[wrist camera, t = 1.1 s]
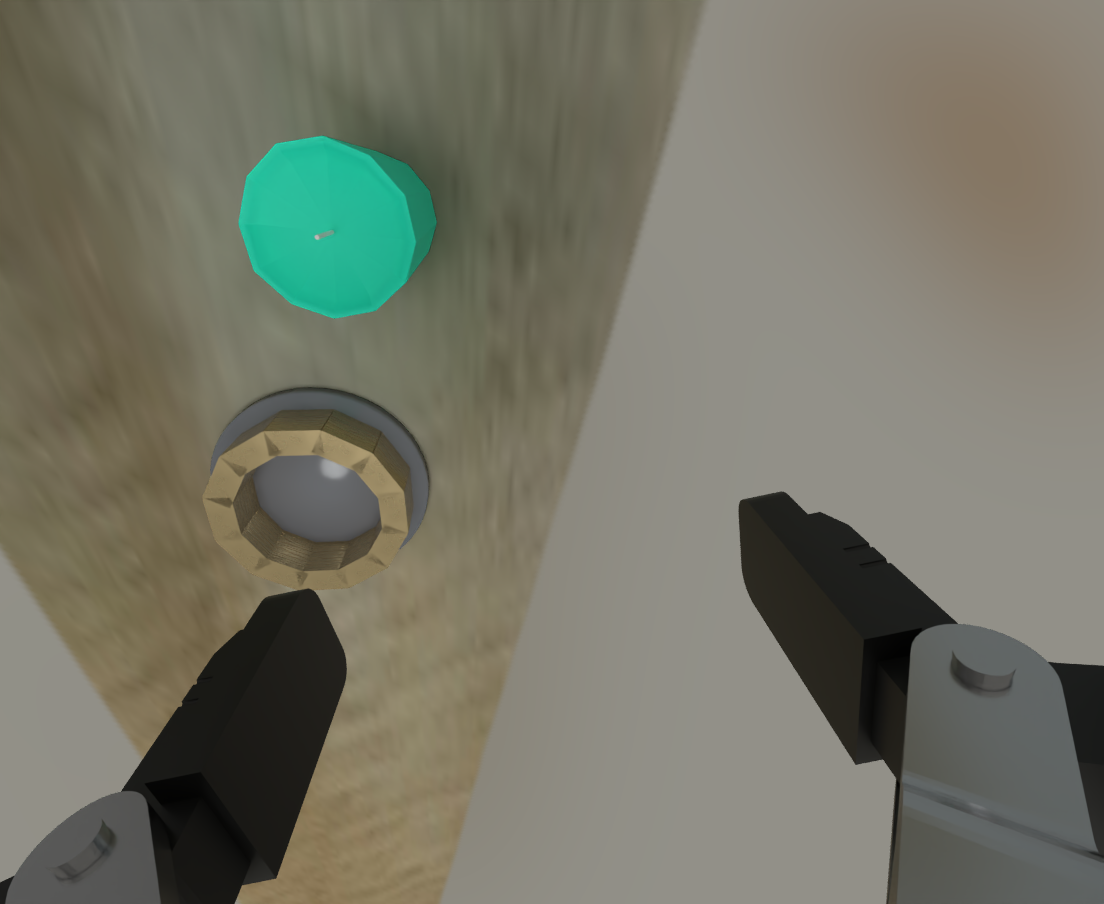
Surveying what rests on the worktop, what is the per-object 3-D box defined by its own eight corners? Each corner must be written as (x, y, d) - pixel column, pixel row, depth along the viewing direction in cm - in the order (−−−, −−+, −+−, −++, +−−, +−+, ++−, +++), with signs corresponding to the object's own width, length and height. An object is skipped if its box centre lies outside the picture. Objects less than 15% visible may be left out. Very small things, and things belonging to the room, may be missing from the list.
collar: (250, 563, 36) (231, 594, 33) (207, 410, 31) (182, 432, 28) (418, 555, 37) (413, 584, 34) (404, 408, 32) (397, 428, 29)
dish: (243, 566, 37) (237, 575, 36) (192, 388, 31) (184, 394, 30) (435, 557, 38) (434, 566, 37) (421, 386, 32) (419, 392, 32)
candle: (360, 293, 30) (294, 356, 19) (294, 183, 27) (172, 184, 16) (457, 246, 29) (443, 283, 19) (399, 129, 26) (344, 94, 16)
